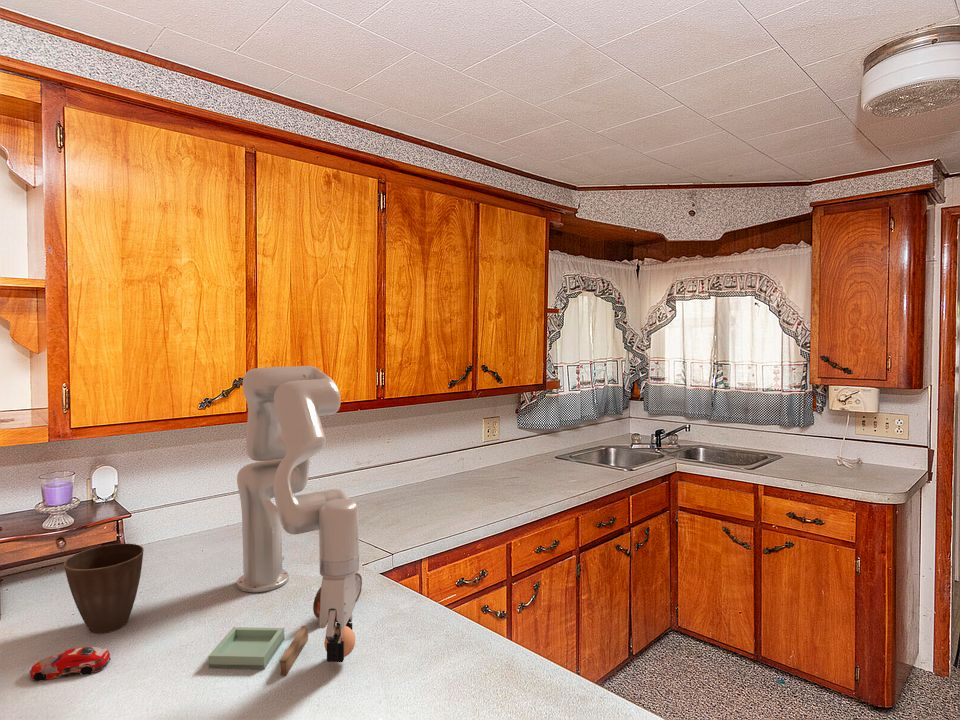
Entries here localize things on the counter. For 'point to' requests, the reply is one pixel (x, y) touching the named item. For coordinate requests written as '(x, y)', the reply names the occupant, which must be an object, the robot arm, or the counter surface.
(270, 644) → the tray
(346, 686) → the counter surface
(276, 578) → the robot arm
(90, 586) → the plant pot
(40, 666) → the race car
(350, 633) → the ball
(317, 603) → the tin
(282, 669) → the rail
